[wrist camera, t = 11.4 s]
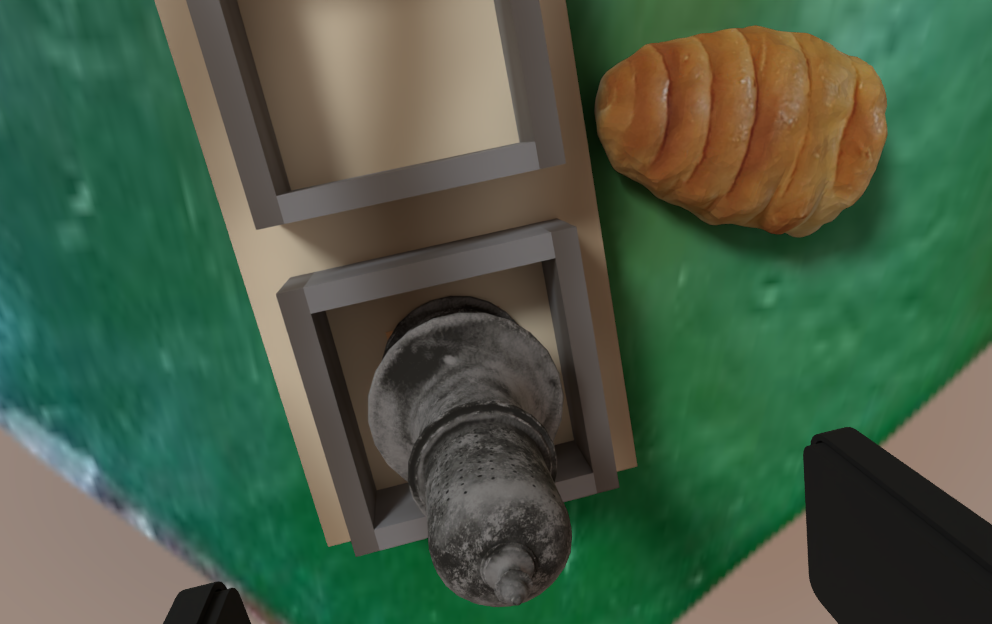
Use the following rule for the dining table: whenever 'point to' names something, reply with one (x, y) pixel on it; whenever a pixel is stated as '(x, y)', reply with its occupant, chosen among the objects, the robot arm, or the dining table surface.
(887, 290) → the dining table surface
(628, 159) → the pastry
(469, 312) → the salt shaker
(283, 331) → the collar board
